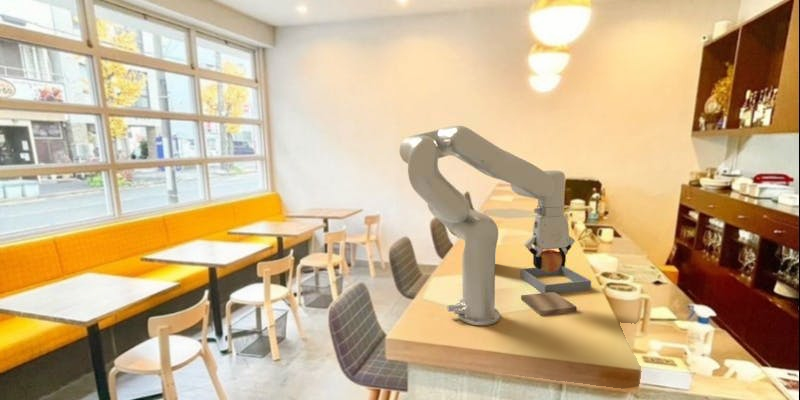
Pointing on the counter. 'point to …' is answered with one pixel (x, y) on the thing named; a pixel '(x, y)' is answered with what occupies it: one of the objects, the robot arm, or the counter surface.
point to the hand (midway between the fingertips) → (549, 266)
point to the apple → (550, 260)
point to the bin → (576, 286)
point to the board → (548, 303)
